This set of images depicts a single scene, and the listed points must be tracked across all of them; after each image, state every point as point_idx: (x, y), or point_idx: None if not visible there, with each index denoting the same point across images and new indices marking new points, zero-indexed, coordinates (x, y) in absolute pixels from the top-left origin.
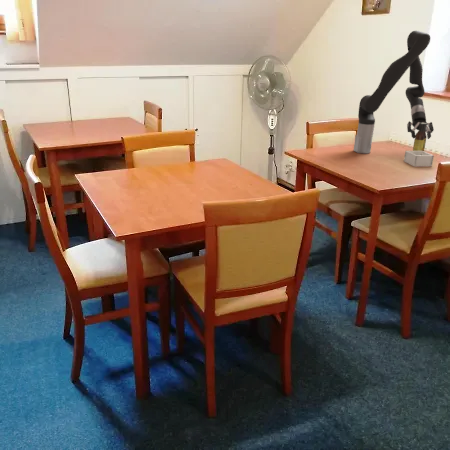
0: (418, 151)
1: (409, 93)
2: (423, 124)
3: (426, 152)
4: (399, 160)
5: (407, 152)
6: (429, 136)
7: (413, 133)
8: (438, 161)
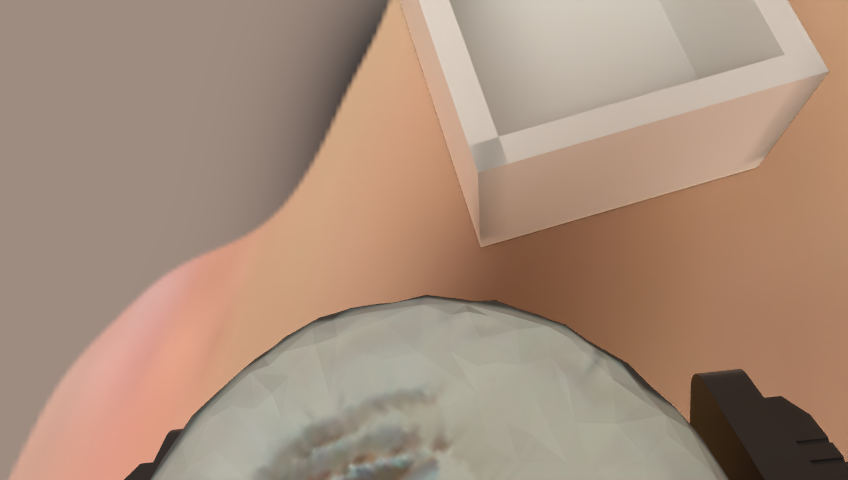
0: (568, 121)
1: None
2: (470, 304)
3: (442, 46)
4: (822, 199)
5: (787, 16)
6: None
7: (809, 477)
8: (199, 290)
